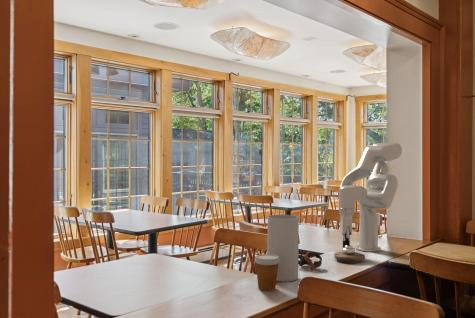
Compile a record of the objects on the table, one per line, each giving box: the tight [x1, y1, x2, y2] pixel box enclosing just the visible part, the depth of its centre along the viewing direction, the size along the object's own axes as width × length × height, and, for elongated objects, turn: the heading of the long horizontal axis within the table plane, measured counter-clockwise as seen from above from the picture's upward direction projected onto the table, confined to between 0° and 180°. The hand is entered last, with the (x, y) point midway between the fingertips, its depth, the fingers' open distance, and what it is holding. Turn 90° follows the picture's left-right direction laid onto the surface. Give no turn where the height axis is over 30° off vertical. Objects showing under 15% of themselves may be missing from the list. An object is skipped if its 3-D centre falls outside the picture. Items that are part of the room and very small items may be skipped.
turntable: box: [334, 251, 366, 264], centre depth 219 cm, size 14×14×3 cm
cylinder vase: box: [266, 214, 300, 283], centre depth 187 cm, size 12×12×25 cm
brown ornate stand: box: [298, 251, 323, 271], centre depth 204 cm, size 12×10×8 cm
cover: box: [341, 244, 356, 255], centre depth 222 cm, size 6×6×4 cm
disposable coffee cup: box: [253, 253, 280, 292], centre depth 173 cm, size 10×10×12 cm
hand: (346, 248), depth 229 cm, fingers closed
